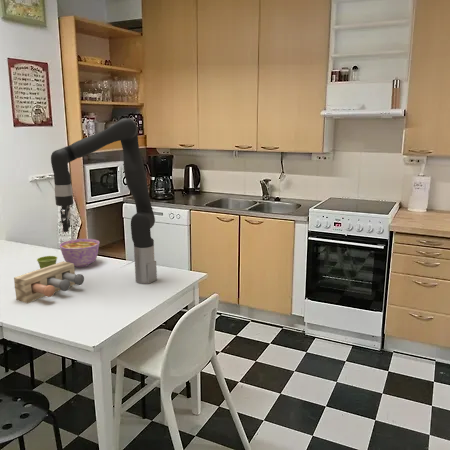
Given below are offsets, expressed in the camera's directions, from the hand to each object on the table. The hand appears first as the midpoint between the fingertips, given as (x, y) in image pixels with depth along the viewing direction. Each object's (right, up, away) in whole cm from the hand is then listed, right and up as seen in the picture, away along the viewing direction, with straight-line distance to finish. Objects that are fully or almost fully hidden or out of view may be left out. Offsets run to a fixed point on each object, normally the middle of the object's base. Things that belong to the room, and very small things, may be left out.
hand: (66, 229), depth 210 cm
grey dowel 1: (-1, -26, -9) cm, 27 cm away
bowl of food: (-4, -19, +32) cm, 38 cm away
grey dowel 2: (+3, -24, -3) cm, 24 cm away
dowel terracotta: (-5, -27, -16) cm, 32 cm away
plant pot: (-14, -23, +16) cm, 31 cm away
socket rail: (-7, -28, -5) cm, 29 cm away
